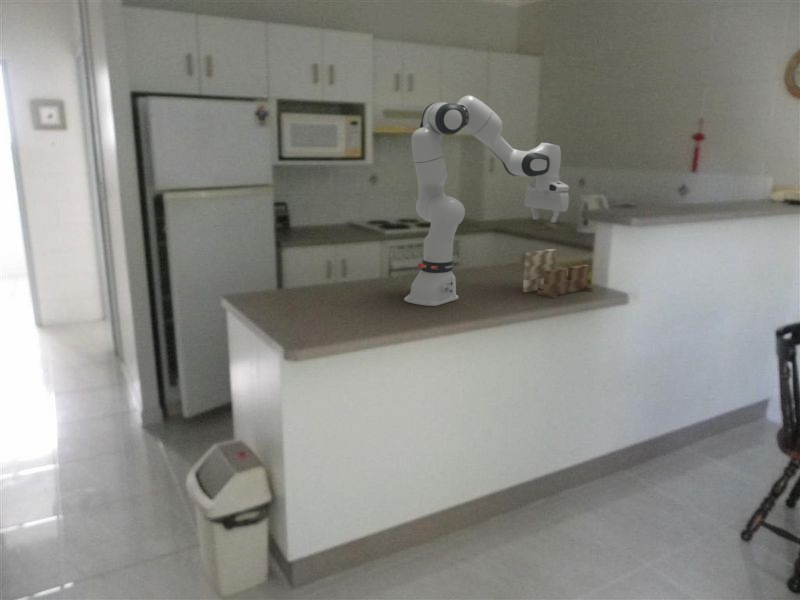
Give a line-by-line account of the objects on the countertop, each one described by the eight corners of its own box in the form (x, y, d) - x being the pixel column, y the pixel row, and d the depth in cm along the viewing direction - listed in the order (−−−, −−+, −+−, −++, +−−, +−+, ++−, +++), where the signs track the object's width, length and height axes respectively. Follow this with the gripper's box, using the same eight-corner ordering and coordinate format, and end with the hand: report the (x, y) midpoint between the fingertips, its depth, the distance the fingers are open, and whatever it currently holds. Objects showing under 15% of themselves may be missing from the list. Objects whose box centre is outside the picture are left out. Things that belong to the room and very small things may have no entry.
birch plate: (526, 292, 240) (529, 253, 235) (522, 291, 241) (525, 252, 237) (553, 287, 248) (557, 249, 244) (550, 286, 250) (553, 248, 246)
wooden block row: (552, 298, 231) (554, 273, 229) (537, 294, 238) (539, 269, 235) (592, 290, 244) (595, 266, 242) (577, 286, 251) (579, 263, 248)
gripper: (522, 183, 240) (519, 217, 244) (561, 187, 224) (558, 224, 228) (533, 182, 244) (530, 216, 247) (572, 187, 227) (569, 223, 231)
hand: (544, 220), depth 237 cm, fingers open, 8 cm apart
